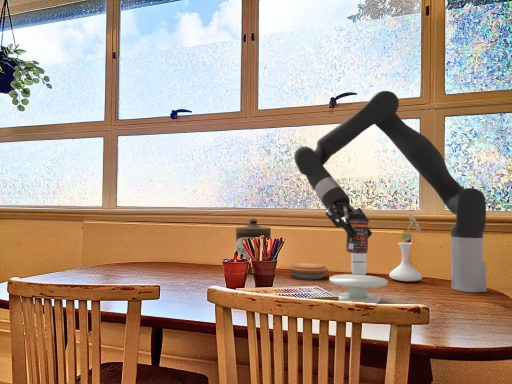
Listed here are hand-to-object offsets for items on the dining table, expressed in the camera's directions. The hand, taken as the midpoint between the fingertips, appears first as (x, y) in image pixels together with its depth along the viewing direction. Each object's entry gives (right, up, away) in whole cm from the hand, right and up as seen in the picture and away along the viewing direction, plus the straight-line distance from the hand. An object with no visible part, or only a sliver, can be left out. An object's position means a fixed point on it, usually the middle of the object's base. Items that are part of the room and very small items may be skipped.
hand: (362, 236), depth 110 cm
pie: (-10, -20, +39) cm, 45 cm away
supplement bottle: (-1, -5, +1) cm, 5 cm away
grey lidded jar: (-31, -21, +51) cm, 63 cm away
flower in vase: (+26, -20, +33) cm, 47 cm away
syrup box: (+12, -21, +49) cm, 54 cm away
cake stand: (-1, -18, 0) cm, 18 cm away
